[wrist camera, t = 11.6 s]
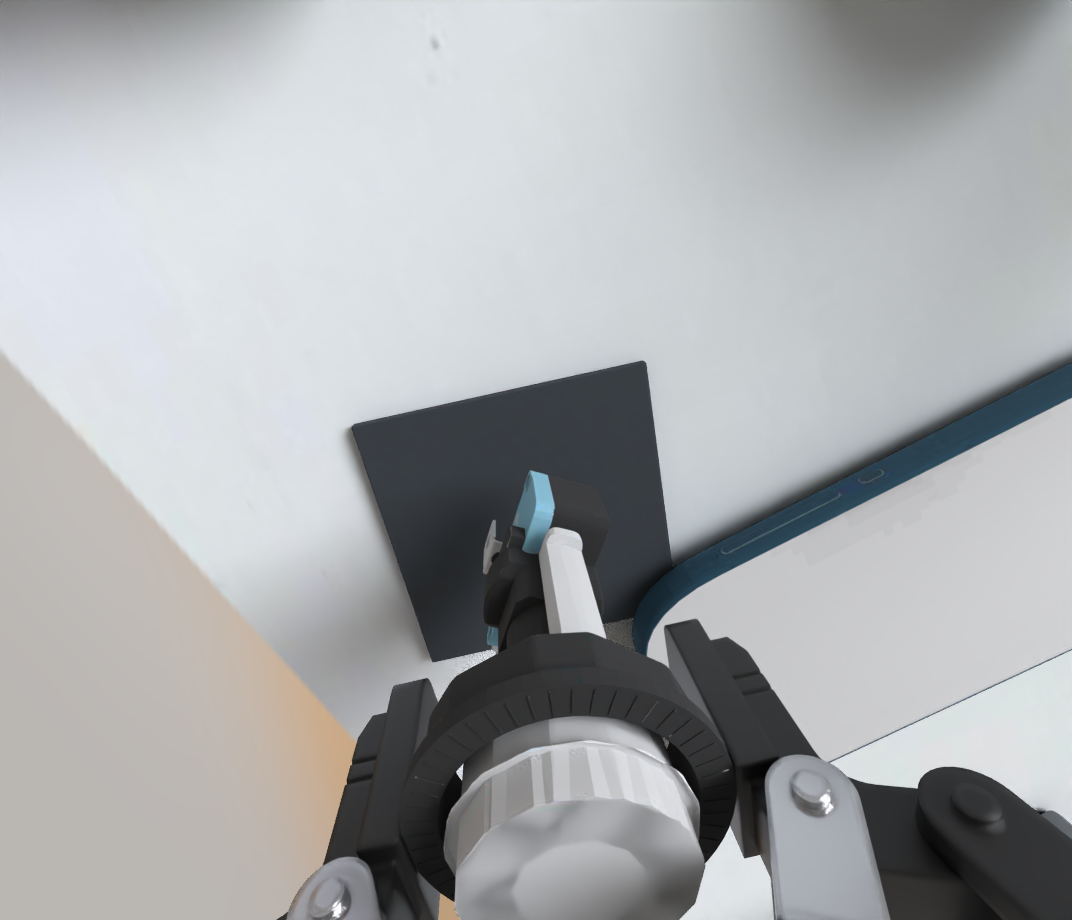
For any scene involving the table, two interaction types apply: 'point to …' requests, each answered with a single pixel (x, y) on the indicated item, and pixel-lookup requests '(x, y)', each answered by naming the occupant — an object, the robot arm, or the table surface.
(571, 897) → the push button
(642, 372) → the mat
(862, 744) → the external hard drive
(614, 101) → the table surface
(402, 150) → the table surface
